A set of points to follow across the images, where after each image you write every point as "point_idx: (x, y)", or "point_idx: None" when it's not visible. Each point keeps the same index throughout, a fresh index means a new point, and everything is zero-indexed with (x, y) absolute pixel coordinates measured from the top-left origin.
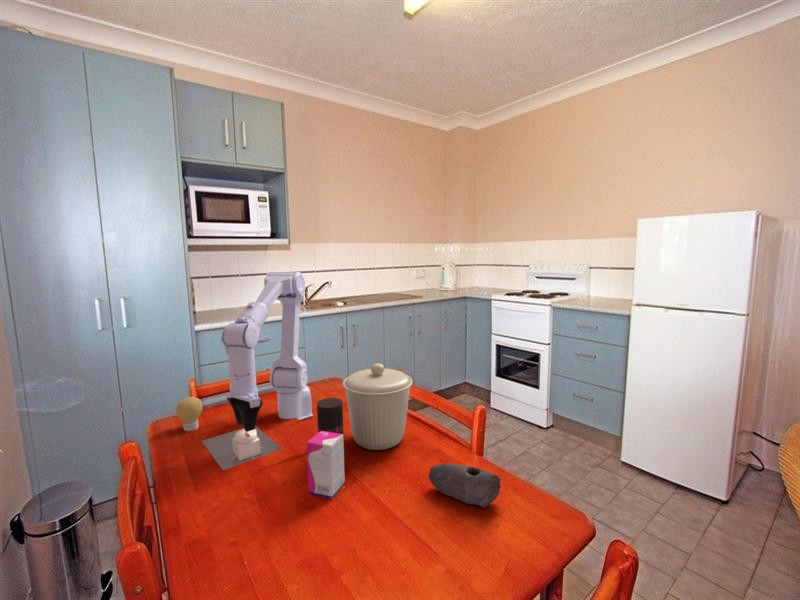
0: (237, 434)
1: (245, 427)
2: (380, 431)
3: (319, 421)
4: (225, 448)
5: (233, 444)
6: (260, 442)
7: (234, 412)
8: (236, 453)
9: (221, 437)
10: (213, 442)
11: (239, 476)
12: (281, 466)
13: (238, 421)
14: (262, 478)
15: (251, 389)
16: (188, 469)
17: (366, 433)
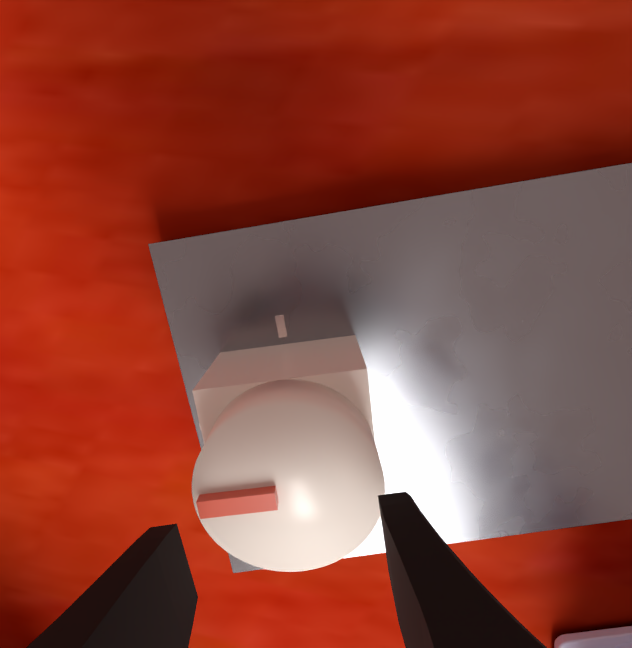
0: (301, 429)
1: (112, 569)
2: None
3: None
4: (437, 299)
5: (335, 358)
6: None
7: (453, 603)
8: (277, 352)
9: (628, 298)
10: (588, 237)
11: (106, 320)
12: (108, 518)
13: (383, 524)
14: (32, 418)
15: None
16: (351, 44)
17: None
